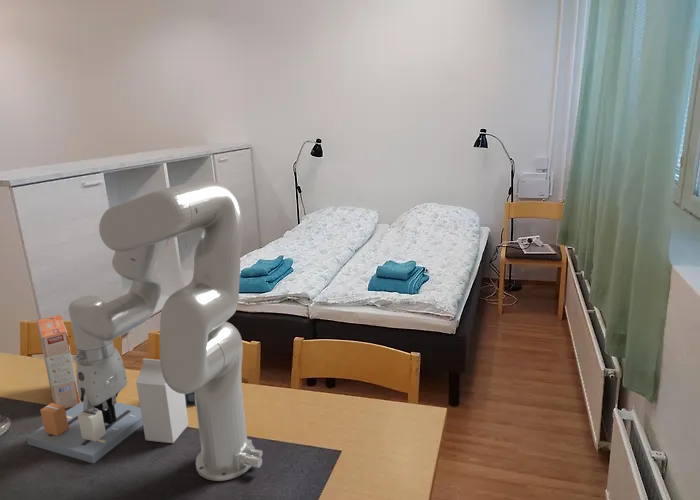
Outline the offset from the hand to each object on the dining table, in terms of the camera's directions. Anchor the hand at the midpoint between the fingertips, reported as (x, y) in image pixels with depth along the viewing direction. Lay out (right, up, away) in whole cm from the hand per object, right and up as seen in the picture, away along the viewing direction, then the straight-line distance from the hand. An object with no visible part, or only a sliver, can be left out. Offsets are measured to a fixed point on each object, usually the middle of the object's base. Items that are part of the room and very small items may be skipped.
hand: (108, 421), depth 121 cm
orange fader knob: (-11, -2, -1) cm, 12 cm away
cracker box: (-19, +1, +17) cm, 26 cm away
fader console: (-5, -3, +2) cm, 6 cm away
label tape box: (+14, +1, +14) cm, 19 cm away
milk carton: (+14, -3, 0) cm, 14 cm away
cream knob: (-2, -2, -4) cm, 5 cm away
